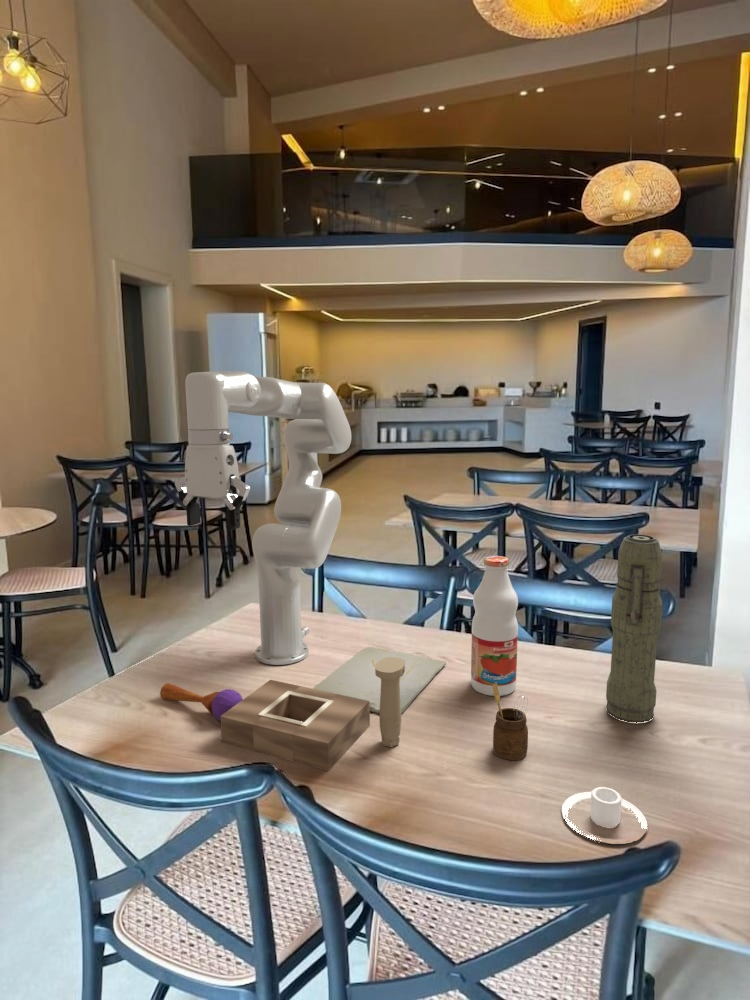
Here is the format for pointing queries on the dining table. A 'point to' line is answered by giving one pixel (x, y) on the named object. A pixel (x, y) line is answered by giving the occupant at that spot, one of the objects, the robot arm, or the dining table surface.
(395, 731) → the handle
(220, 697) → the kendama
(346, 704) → the brown flat block
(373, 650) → the decorative slab
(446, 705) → the dining table surface
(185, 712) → the dining table surface
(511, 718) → the utensil holder
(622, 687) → the thermos
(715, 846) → the dining table surface
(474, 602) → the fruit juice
